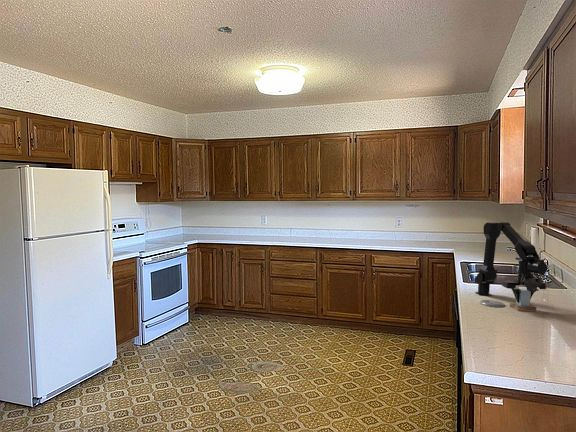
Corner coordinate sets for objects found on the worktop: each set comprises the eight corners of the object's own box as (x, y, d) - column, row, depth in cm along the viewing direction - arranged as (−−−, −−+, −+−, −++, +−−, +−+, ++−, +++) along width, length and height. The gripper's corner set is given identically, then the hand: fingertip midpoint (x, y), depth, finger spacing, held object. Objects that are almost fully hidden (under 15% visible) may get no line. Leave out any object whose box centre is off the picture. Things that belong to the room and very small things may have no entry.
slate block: (515, 307, 218) (516, 289, 218) (524, 307, 218) (525, 289, 218) (520, 309, 214) (521, 291, 213) (529, 310, 214) (530, 291, 213)
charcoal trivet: (476, 300, 228) (476, 299, 228) (497, 301, 229) (498, 300, 228) (486, 307, 218) (486, 305, 217) (508, 307, 218) (508, 306, 218)
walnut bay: (509, 306, 220) (509, 302, 220) (526, 306, 220) (527, 302, 220) (518, 310, 212) (518, 306, 212) (536, 311, 212) (536, 307, 212)
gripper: (514, 273, 207) (512, 306, 208) (554, 274, 207) (552, 307, 208) (502, 268, 218) (500, 300, 219) (540, 269, 218) (538, 301, 219)
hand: (522, 302), depth 216 cm, fingers closed on slate block, 4 cm apart
